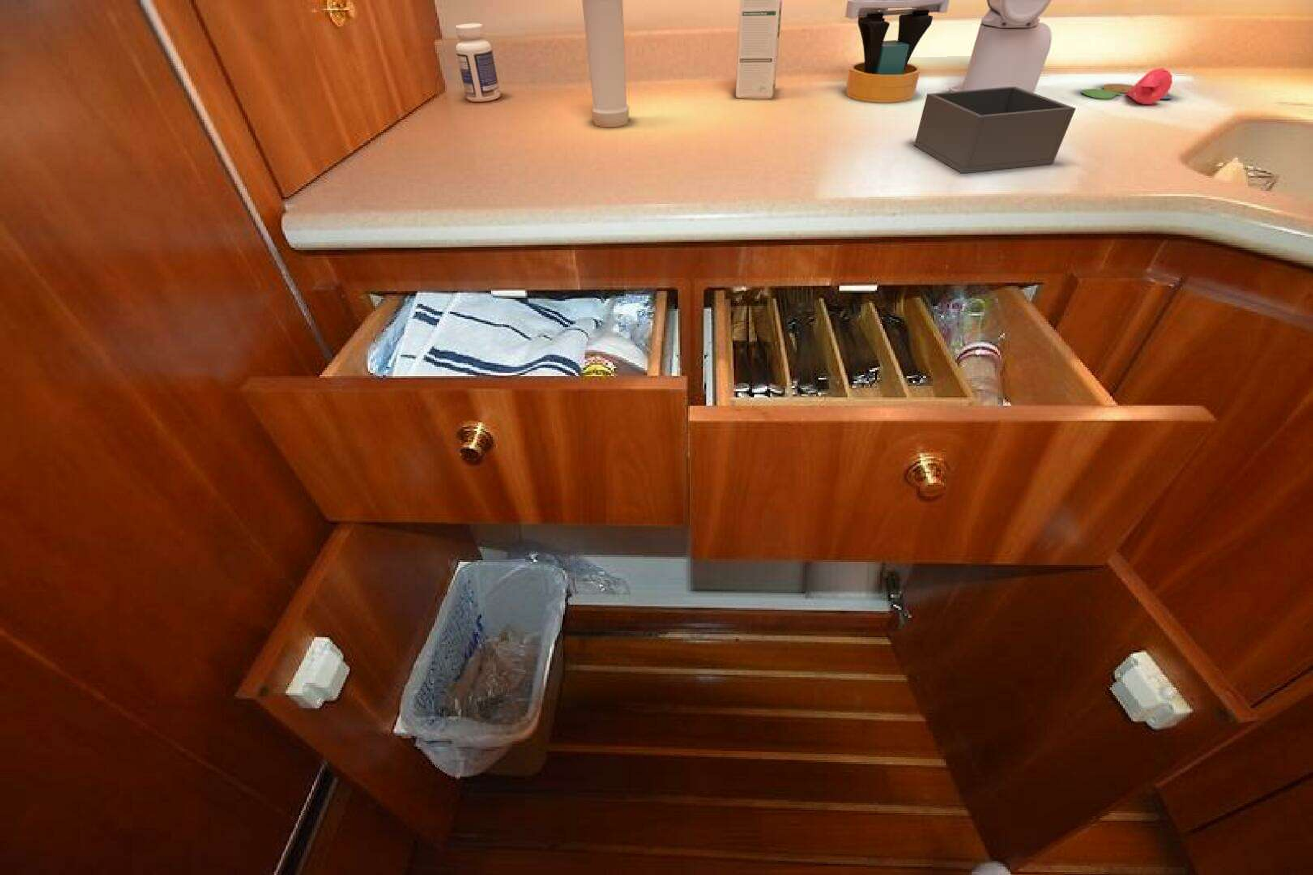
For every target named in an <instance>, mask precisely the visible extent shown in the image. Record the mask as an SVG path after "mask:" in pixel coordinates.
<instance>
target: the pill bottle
mask: <svg viewBox="0 0 1313 875" xmlns="http://www.w3.org/2000/svg"><path fill="white" fill-rule="evenodd" d="M455 30H456V36H457V39H459V42H458V43H457V44H456V46H455V52H456V57H457V62H458V65H459V70H460V75H461V79H462V84H463V89H464V93H465V96H466V99H467V100H468V101H470V102H477V103H483V102H484V103H485V102H491V101H495V100H496V99H499V98H500V96H501V91H500V87H499V81H498V75H497V72H496V71H497V70H496V64H495V59H494V54H493V49H492V44H491V43H490V42H489V41H487V40H485V38H484V37H485V29H484V26H483V24H482V23H476V22H475V23H474V22H473V23H472V22H471V23H462V24H457V25H456V26H455Z"/></svg>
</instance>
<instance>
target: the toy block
mask: <svg viewBox="0 0 1313 875" xmlns="http://www.w3.org/2000/svg"><path fill="white" fill-rule="evenodd" d="M908 48H909V45H908V44H905V43H903V42H900V41H898V39H894V40H884V41H883V44H882V47H881V51H880V56H879V61H878V66H877V69H876V73H875V74H882V75H898V74H903V71H904V66H905V62H906V57H907V53H908Z"/></svg>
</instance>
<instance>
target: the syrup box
mask: <svg viewBox="0 0 1313 875" xmlns="http://www.w3.org/2000/svg"><path fill="white" fill-rule="evenodd" d="M782 5H783V0H739V15H738V33H737V34H738V36H737V56H736V57H737V60H736V76H735V78H736V79H735V97H736V98H739V99H752V100H753V99H757V100H759V99H760V100H761V99H763V100H766V99H772V98H773V97H774V93H775V90H776V78H777V66H778V55H779V46H780V45H779V43H780V32H781V18H782V7H783V6H782Z"/></svg>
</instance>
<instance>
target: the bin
mask: <svg viewBox="0 0 1313 875" xmlns="http://www.w3.org/2000/svg"><path fill="white" fill-rule="evenodd" d="M1076 109H1077V108H1076V107H1074V106H1072V105H1071V106H1070V105H1069V104H1065V103H1062V102H1059V101H1057V100H1054V99H1051V98H1049V97H1046V96H1043V95H1039V94H1037V93H1035V92H1034V93H1032V92H1029V91H1026V90H1023V89H1020V88H1017V87H1015V86H1013V87H1001V88H990V89H978V90H966V91H954V92H949V91H942V92H931V93H927V94H926V97H925V101H924V104H923V109H922V113H921V117H920V121H919V125H918V129H917V133H916V136H915V141H914V144H913V146H914V147H916V148H918V149H919V150H921V151H923V152H924V153H926V154H928V155H930V156H931V157H933V158H935V159H937V160H938V161H940V162H942V163H944V164H945V165H947V166H948V167H950V168H952V169H954V170H955V171H957V172H959V173H961V174H966V173H967V174H968V173H979V172H987V171H988V172H989V171H998V170H1008V169H1016V168H1025V167H1027V168H1028V167H1035V166H1045V165H1053V164H1054V162H1055V160H1056V157H1057V155H1058V153H1059V150H1060V147H1061V145H1062V144H1063V140H1064V138H1065V135H1066V133H1067V131H1068V128H1069V126H1070V123H1071V122H1072V119H1073V117H1074V115H1075V111H1076Z"/></svg>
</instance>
